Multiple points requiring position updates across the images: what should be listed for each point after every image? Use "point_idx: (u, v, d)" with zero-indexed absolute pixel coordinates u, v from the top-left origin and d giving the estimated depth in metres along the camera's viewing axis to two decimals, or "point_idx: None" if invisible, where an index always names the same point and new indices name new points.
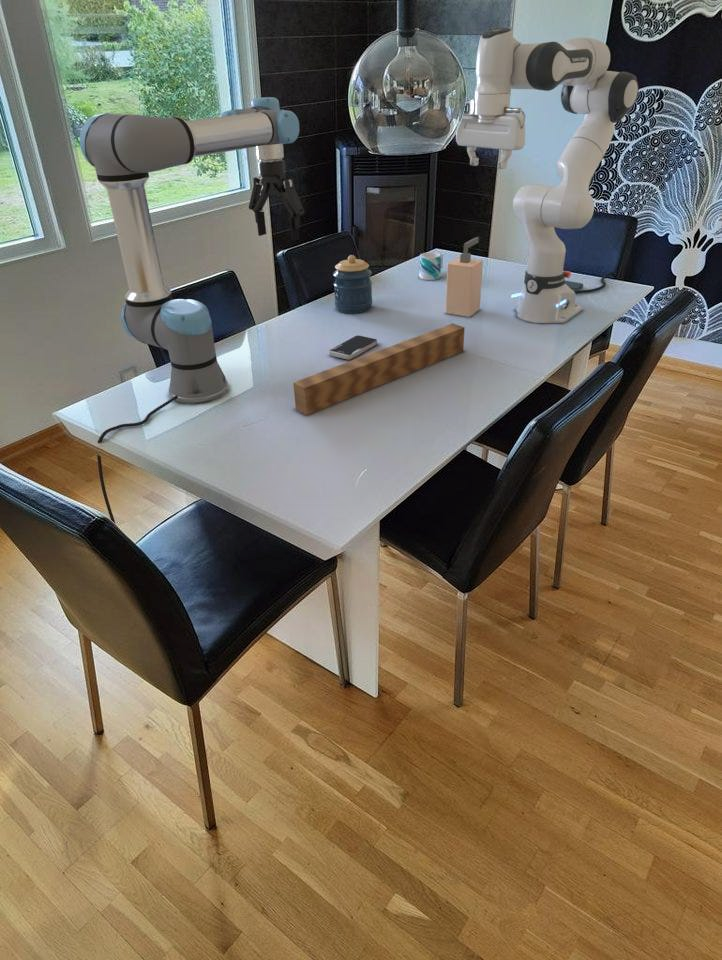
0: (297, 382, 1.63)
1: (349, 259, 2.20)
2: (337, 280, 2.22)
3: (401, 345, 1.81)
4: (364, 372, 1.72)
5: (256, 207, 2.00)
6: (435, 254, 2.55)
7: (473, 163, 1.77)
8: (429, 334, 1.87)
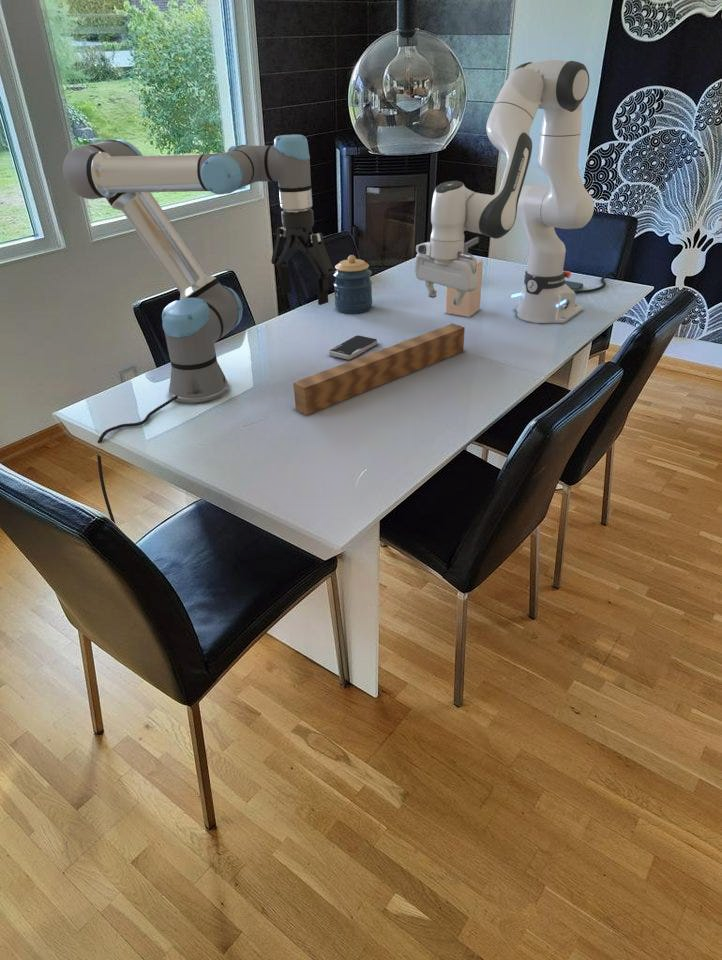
0: (297, 382, 1.63)
1: (349, 259, 2.20)
2: (337, 280, 2.22)
3: (401, 345, 1.81)
4: (364, 372, 1.72)
5: (279, 262, 1.68)
6: None
7: (431, 296, 1.86)
8: (429, 334, 1.87)
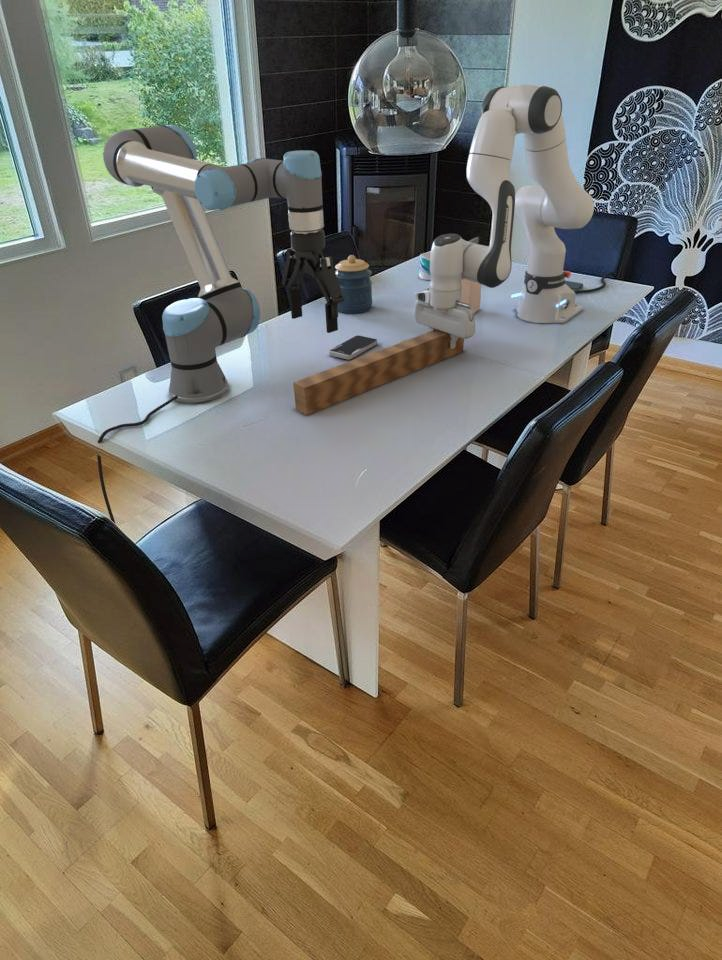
0: (297, 382, 1.63)
1: (349, 259, 2.20)
2: None
3: (401, 345, 1.81)
4: (364, 372, 1.72)
5: (289, 284, 1.57)
6: None
7: None
8: (429, 334, 1.87)
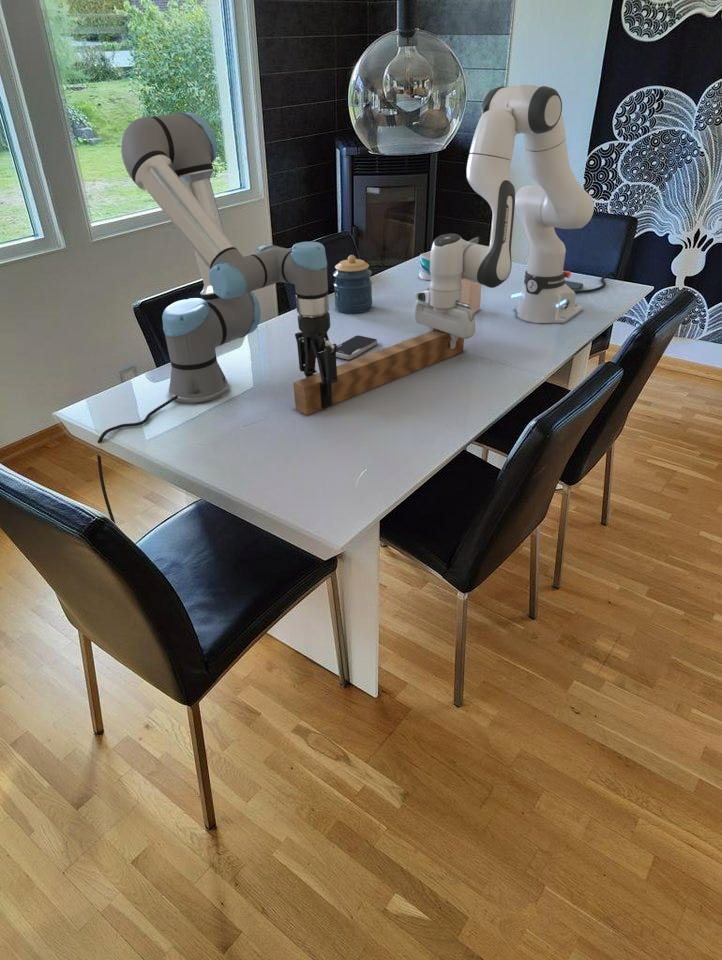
0: (297, 382, 1.63)
1: (349, 259, 2.20)
2: (337, 280, 2.22)
3: (401, 345, 1.81)
4: (364, 372, 1.72)
5: (306, 369, 1.65)
6: None
7: None
8: (429, 334, 1.87)
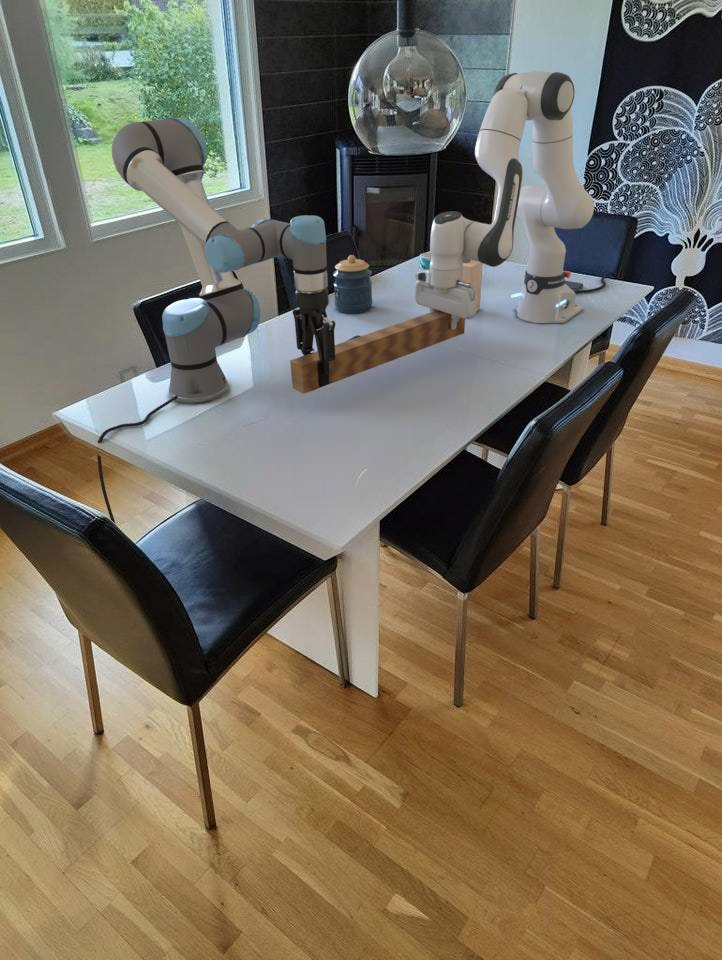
0: (294, 360, 1.60)
1: (349, 259, 2.20)
2: (337, 280, 2.22)
3: (401, 325, 1.78)
4: (363, 352, 1.69)
5: (303, 347, 1.63)
6: None
7: None
8: (430, 315, 1.84)
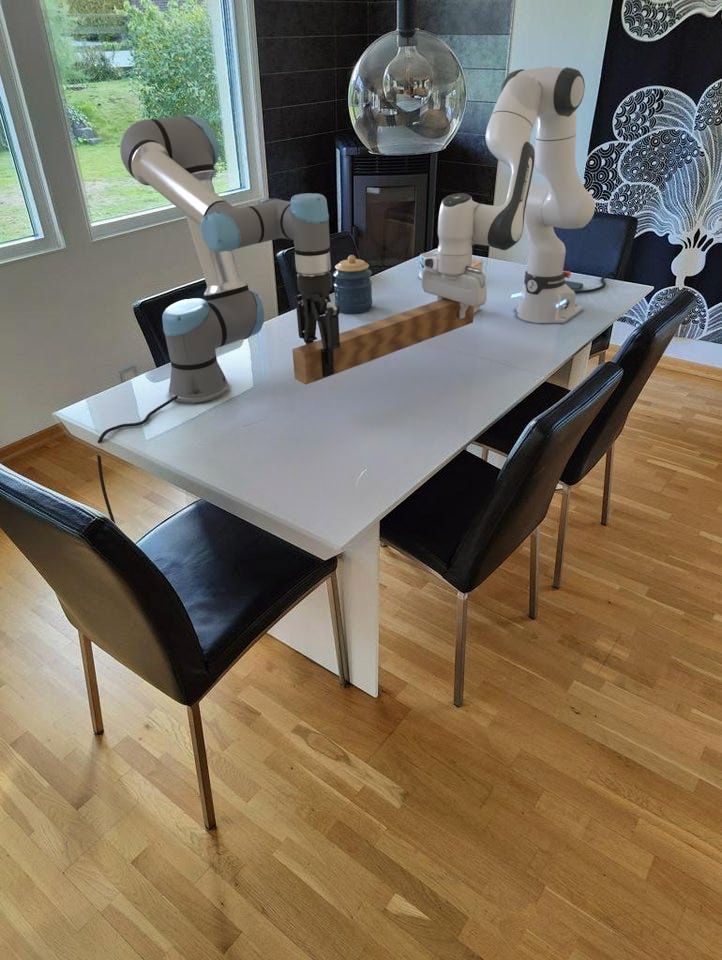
0: (296, 349, 1.52)
1: (349, 259, 2.20)
2: (337, 280, 2.22)
3: (407, 313, 1.69)
4: (368, 340, 1.60)
5: (306, 335, 1.54)
6: (435, 254, 2.55)
7: None
8: (437, 303, 1.76)
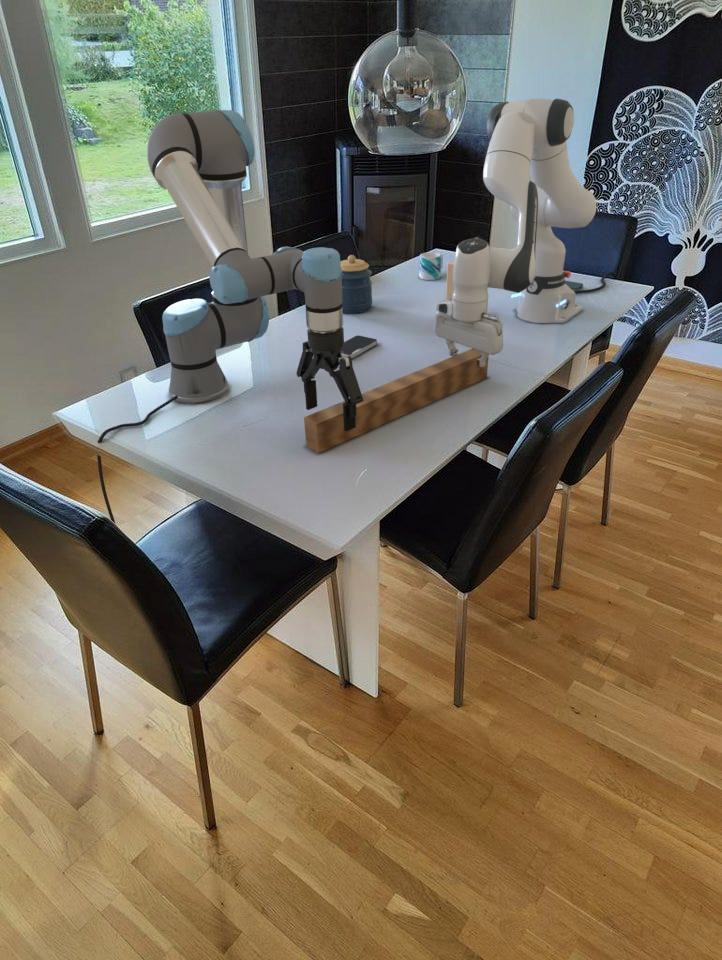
0: (308, 417, 1.47)
1: (349, 259, 2.20)
2: None
3: (421, 373, 1.65)
4: (381, 404, 1.56)
5: (305, 377, 1.49)
6: (435, 254, 2.55)
7: (452, 354, 1.76)
8: (451, 360, 1.71)
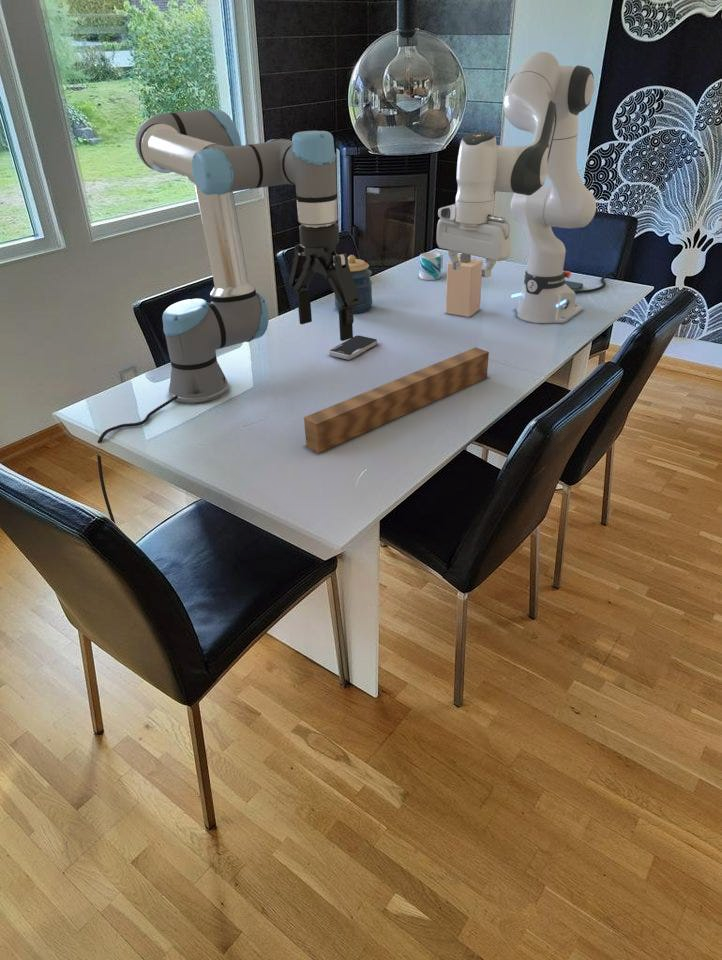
0: (308, 417, 1.47)
1: (349, 259, 2.20)
2: None
3: (421, 373, 1.65)
4: (381, 404, 1.56)
5: (298, 286, 1.38)
6: (435, 254, 2.55)
7: (455, 267, 1.63)
8: (451, 360, 1.71)
